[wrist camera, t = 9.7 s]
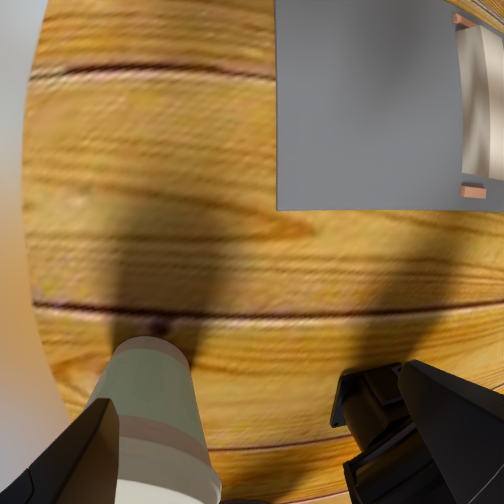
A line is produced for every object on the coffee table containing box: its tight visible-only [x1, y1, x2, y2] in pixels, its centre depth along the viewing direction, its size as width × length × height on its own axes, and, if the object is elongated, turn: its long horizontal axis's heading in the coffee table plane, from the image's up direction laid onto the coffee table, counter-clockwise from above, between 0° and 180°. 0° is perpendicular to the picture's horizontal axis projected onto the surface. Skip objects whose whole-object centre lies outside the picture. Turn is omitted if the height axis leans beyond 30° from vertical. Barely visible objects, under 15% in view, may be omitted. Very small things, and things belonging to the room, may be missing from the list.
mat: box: [274, 0, 504, 212], centre depth 18 cm, size 18×28×1 cm, turn 90°
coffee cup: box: [83, 336, 222, 504], centre depth 16 cm, size 8×8×12 cm
